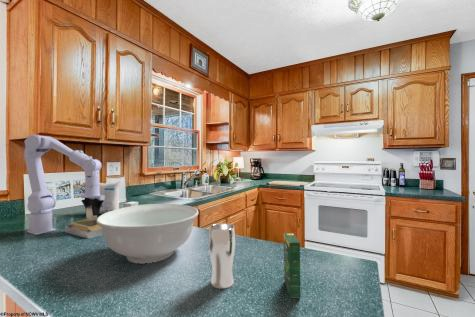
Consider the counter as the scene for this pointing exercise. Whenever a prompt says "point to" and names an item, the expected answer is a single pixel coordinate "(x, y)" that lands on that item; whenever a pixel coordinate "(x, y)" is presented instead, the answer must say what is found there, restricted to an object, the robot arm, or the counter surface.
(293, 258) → the coffee box
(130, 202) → the skincare box
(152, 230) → the bowl
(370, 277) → the counter surface
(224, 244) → the silver metal tumbler
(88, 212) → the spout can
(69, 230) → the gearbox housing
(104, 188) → the pouch
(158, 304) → the counter surface
